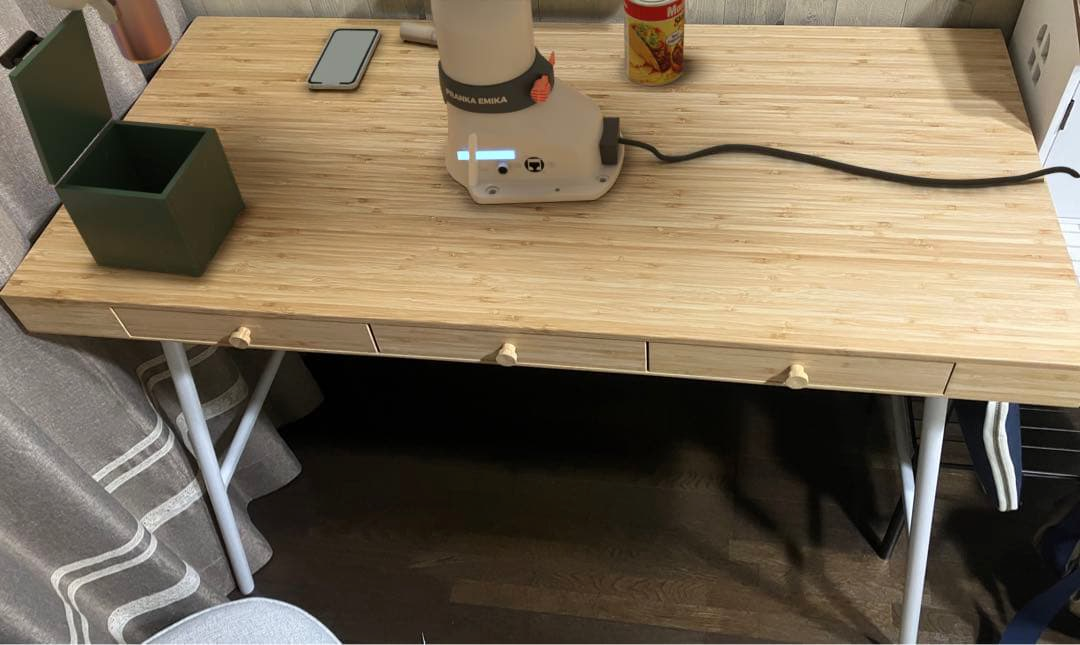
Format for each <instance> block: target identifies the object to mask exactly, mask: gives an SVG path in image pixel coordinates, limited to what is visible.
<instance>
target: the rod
mask: <svg viewBox="0 0 1080 645" xmlns="http://www.w3.org/2000/svg"><path fill="white" fill-rule="evenodd" d="M399 38H400V39H401V40H404V41H409V42H416V43H421V44H427V45H433V46H434V45H435V46H438V44H437V39H436V33H435V27H434V25H430V24H423V23H418V22H414V21H408V20H403V22H401V23H400V26H399Z"/></svg>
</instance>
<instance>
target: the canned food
mask: <svg viewBox="0 0 1080 645" xmlns="http://www.w3.org/2000/svg"><path fill="white" fill-rule="evenodd" d="M622 3H623V42H624V43H623V44H624V47H623V48H624V50H623V52H624V72H625V75H626V76H627V78H628V79H629V80H630V81H632V82H634V83H636V84H639V85H642V86H647V87H651V86H652V87H656V86H664V85H668V84H670V83H672V82H674V81H676V80H678V78H680V77H681V76H682V74H683V70H684V54H685V53H684V49H685V48H684V47H685V19H686V18H685V16H686V0H623V2H622Z"/></svg>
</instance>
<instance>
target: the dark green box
mask: <svg viewBox="0 0 1080 645" xmlns="http://www.w3.org/2000/svg"><path fill="white" fill-rule="evenodd" d="M53 189H54V191H55V192H56V195H57V196H58V198H59V200H60V202H61V203H62V205H63V206H64V209H65V210H66V212H67V214H68V216H69V217H70V219H71V221H72V223H73V225H74V226H75V228H76V230H77V231H78V234H79V235H80V237H81V239H82V241H83V242H84V245H85V246H86V247H87V249H88V251H89V253H90V255H91V256H92V258H93V260H94V262H95V264H96V265H97V266H104V267H105V266H106V267H113V268H121V269H130V270H137V271H138V270H139V271H146V272H155V273H162V274H172V275H180V276H189V277H198V278H200V277H202V275H203V274H204V272H205V270H206V269H207V267H208V265H209V264H210V262H211V261H212V260H213V258H214V256H215V255H216V253H217V251H218V250H219V248H220V247H221V246H222V244H223V242H224V241H225V239H226V237H227V236H228V234H229V232H230V231H231V229H232V228H233V226H234V225H235V223H236V222H237V220H238V219H239V217H240V215H241V214H242V212H243V211H244V209H245V207H246V203H245V201H244V198H243V196H242V193H241V190H240V187H239V185H238V182H237V181H236V177H235V175H234V173H233V170H232V167H231V165H230V162H229V159H228V157H227V155H226V151H225V149H224V147H223V143H222V141H221V139H220V137H219V133H218V130H217V129H216V127H206V126H195V125H184V124H172V123H171V124H170V123H159V122H147V121H137V120H125V119H112V118H111V119H110V121H109V122H108V123H107V124H106V125H105V127H104V128H103V129H102V130H101V131H100V133H99V134H98V135H97V136H96V137H95V138H94V140H93V141H92V142H91V143H90V144H89V146H88V147H87V148H86V149H85V150H84V152H83V153H82V154H81V155H80V156H79V158H78V159H77V160H76V161H75V162H74V164H73V165H72V166H71V167H70V168H69V170H68V171H67V172H66V173H65V174H64V175H63V177H62V178H61V179H60V180H59V181H58V183H57V184H56V185H54V188H53Z"/></svg>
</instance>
